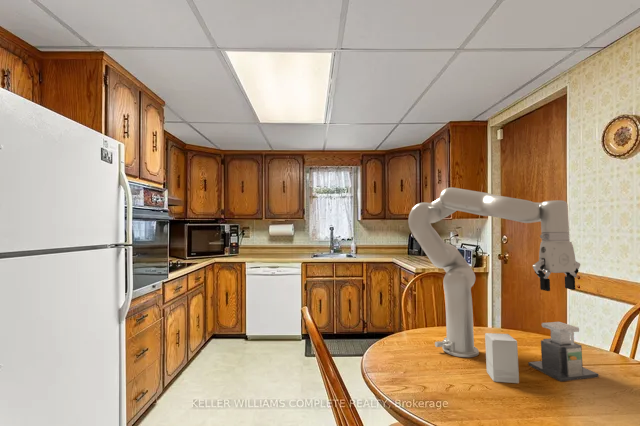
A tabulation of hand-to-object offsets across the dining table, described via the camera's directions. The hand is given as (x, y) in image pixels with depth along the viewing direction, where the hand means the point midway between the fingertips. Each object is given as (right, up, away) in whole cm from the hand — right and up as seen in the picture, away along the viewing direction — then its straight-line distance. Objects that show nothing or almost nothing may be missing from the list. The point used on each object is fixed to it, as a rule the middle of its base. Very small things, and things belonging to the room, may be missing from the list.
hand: (557, 289), depth 107 cm
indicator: (0, -20, -7) cm, 21 cm away
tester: (0, -26, -1) cm, 26 cm away
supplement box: (-21, -27, -5) cm, 34 cm away
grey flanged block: (+1, -21, -2) cm, 21 cm away
